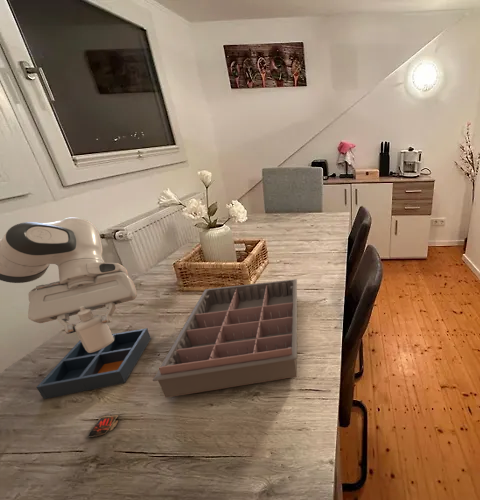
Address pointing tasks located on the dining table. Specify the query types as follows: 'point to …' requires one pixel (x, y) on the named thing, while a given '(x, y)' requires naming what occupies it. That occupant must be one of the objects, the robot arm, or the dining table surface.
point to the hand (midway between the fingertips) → (89, 327)
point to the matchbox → (103, 425)
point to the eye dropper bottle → (92, 331)
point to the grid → (95, 365)
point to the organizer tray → (234, 339)
